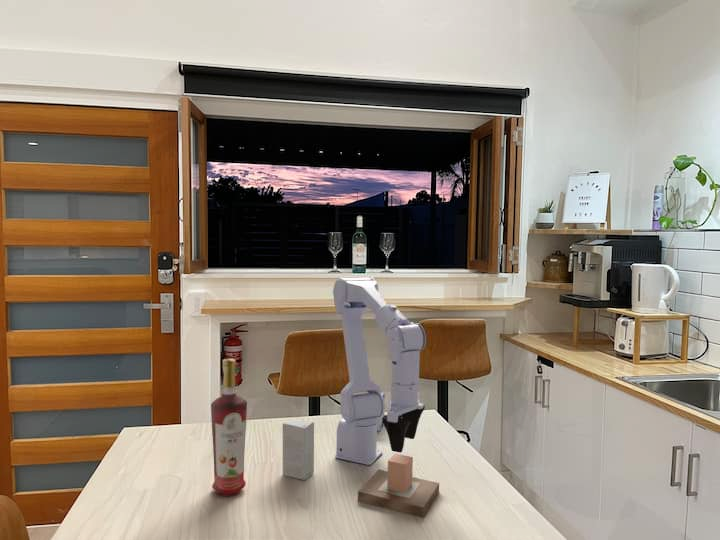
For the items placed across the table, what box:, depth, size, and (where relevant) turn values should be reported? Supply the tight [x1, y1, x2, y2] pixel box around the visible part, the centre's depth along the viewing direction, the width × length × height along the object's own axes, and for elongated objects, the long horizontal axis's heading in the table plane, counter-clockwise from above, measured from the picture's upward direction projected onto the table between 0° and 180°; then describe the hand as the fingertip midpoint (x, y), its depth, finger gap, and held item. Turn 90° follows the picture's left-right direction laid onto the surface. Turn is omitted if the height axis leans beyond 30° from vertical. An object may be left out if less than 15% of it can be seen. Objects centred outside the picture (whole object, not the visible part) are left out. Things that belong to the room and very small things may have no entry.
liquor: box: [210, 358, 248, 497], centre depth 109 cm, size 7×7×28 cm
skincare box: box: [282, 417, 315, 481], centre depth 117 cm, size 6×4×12 cm
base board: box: [357, 469, 440, 518], centre depth 109 cm, size 14×11×2 cm
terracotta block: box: [387, 452, 414, 493], centre depth 108 cm, size 4×4×6 cm
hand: (403, 444), depth 110 cm, fingers open, 7 cm apart
